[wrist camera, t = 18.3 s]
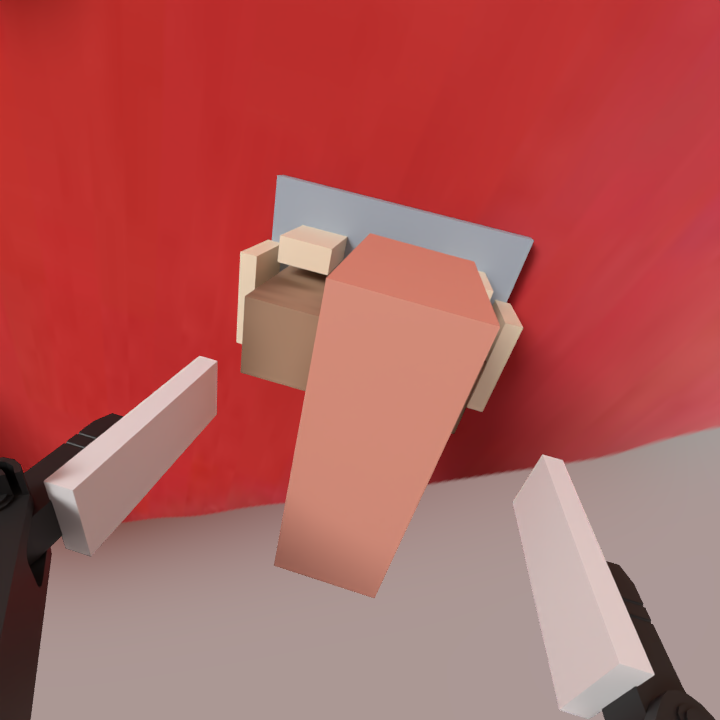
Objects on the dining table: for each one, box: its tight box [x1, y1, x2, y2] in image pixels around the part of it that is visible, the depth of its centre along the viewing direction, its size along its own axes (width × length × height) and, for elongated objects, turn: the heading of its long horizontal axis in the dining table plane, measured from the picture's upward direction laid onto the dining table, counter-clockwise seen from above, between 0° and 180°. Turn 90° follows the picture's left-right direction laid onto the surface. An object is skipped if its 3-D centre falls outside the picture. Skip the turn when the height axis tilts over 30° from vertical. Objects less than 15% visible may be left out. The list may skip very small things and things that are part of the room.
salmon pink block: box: [274, 233, 500, 598], centre depth 15 cm, size 4×13×7 cm, turn 167°
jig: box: [236, 175, 534, 412], centre depth 24 cm, size 16×14×5 cm
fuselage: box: [241, 265, 486, 434], centre depth 22 cm, size 12×4×8 cm, turn 78°
